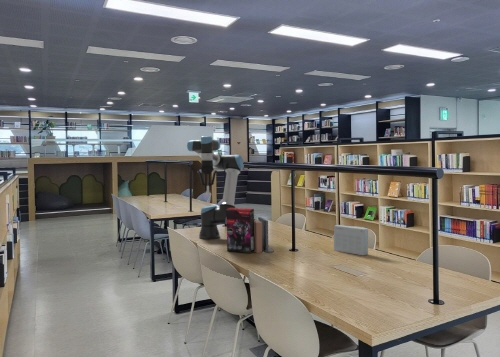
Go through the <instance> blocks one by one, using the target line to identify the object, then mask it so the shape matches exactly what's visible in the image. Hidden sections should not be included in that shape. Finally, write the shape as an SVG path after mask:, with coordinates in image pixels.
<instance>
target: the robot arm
mask: <svg viewBox="0 0 500 357" xmlns="http://www.w3.org/2000/svg"><path fill="white" fill-rule="evenodd" d="M186 148H187V151H189V152H195V153H197V154H198V155H199V156H200V157H201V158H200V159H201V161H200V163H201V167H200V169H199V170H197V173H198V176H199V180H200V184H201V186H204V191H205V193H206V194H205V195H206V197H210V191H211V190H212V189H211V188H212V186H213V185H214V184H215V178H216V174H217V172H218V170H222V171H225V173H226V176H225V180H224V181H225V183H224V189H223V195H222V201H221V203H220V204H219V207H218V206H217V205H209V206H203V207H202V208H201V209H200V220H201V222H200V223H201V226H200V227H201V228H200V230H199V234H198V236H199V239H202V240H214V239H218V238H220V236H221V235H220V231H219V229H218V224H221V225H222V224H223V225H227V218H226V210H227V209H228V208H236V205H235V198H236V192H237V191H236V190H237V183H238V178H239V177H238V176H239V174H241V171H243V170H244V168H245V163H244V157H243V156H242V155H241V154H218V153H215V152H216V151H219V150H220V148H221V143H220V141H219V140H217V139H213V137H212V136H209V135H207V136H206V135H205V136H204V135H202V136H201V137H200V139H192V140H188V141H187V145H186ZM243 163H244V164H243ZM215 168H216V169H218V170H216V169H215ZM202 173H203V175H202ZM212 173H213V174H212ZM211 175H212V177H211Z"/></svg>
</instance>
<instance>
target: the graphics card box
mask: <svg viewBox="0 0 500 357" xmlns="http://www.w3.org/2000/svg"><path fill="white" fill-rule="evenodd" d="M226 218H227V224H226V247H227V248H226V251H227V252H233V253H246V254H251V253H253V252H255V239H254V219H255V209H254V208H243V207H241V208H239V207H237V208H236V207H235V208H228V209H227V210H226Z"/></svg>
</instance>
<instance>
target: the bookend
mask: <svg viewBox="0 0 500 357" xmlns="http://www.w3.org/2000/svg"><path fill="white" fill-rule="evenodd" d="M257 220H258V221H260V222H262V252H265V253H275V250H274V249H272V248H270V247H269V220H267V219H265V218H264V217H262V216H258V218H257Z"/></svg>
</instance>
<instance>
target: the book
mask: <svg viewBox="0 0 500 357" xmlns="http://www.w3.org/2000/svg"><path fill="white" fill-rule="evenodd" d="M254 239H255V251H254V252H255V253H256V254H259V253H261V254H262V253H263V250H262V222H260V221H258V219H256V218H254Z"/></svg>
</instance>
